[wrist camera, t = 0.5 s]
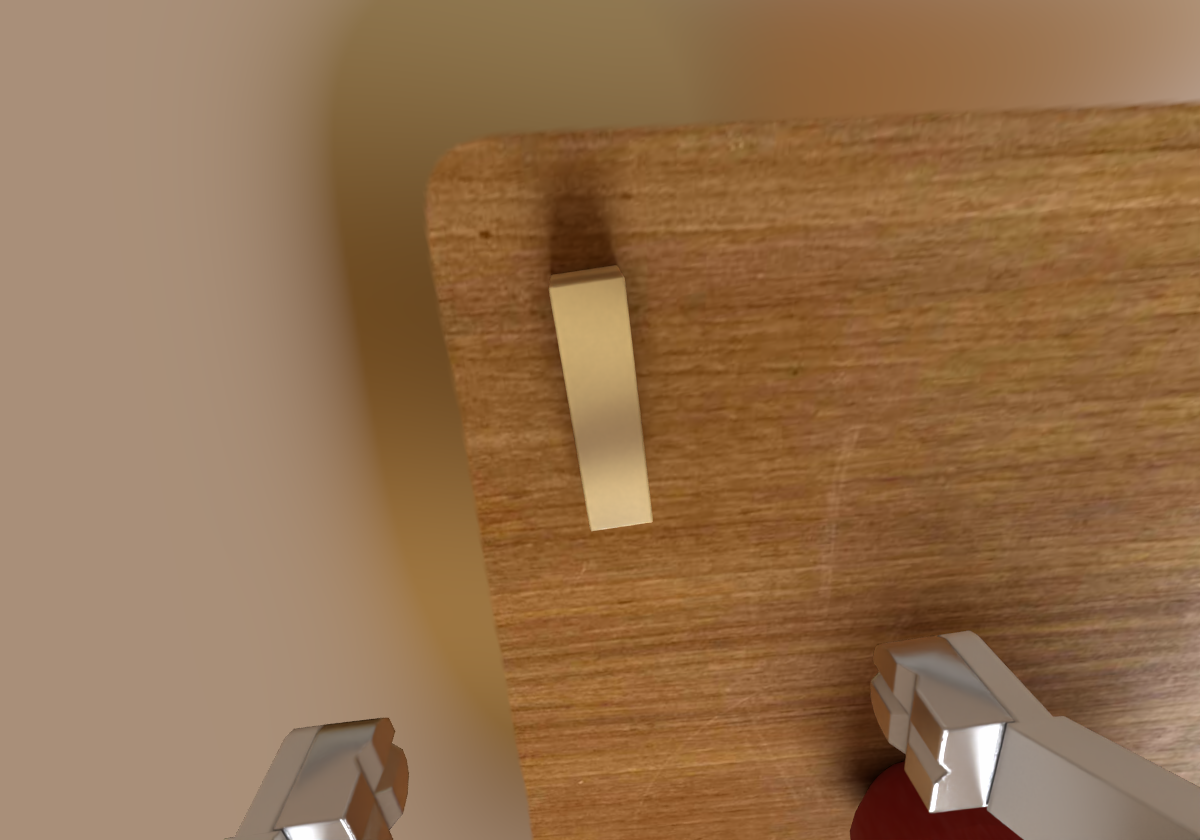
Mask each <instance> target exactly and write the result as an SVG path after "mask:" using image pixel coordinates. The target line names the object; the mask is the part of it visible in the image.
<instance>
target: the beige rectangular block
mask: <svg viewBox="0 0 1200 840" xmlns="http://www.w3.org/2000/svg"><path fill="white" fill-rule="evenodd" d="M549 294H550V300H551V305H552V311H553V317H554V323H555V329H556V334H557V340H558V346H559V352H560V358H561V363H562V369H563V375H564V381H565V387H566V393H567V398H568V404H569V410H570V416H571V422H572V427H573V433H574V439H575V445H576V451H577V456H578V462H579V468H580V474H581V480H582V485H583V491H584V497H585V503H586V509H587V514H588V520H589V526H590V530H591V531H596V530H602V529H609V528H616V527H622V526H629V525H636V524H643V523H649V522H652V521H653V517H652V508H651V500H650V491H649V483H648V474H647V465H646V457H645V448H644V440H643V431H642V422H641V414H640V405H639V396H638V388H637V379H636V371H635V362H634V353H633V345H632V336H631V328H630V319H629V310H628V302H627V293H626V285H625V277H624V276H623V274H622V272H621V271H620V269H619V268H618V266H616V265H615V266H608V267H601V268H595V269H588V270H581V271H574V272H568V273H561V274H554V275H551V277H550V284H549Z"/></svg>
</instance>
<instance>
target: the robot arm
mask: <svg viewBox="0 0 1200 840" xmlns="http://www.w3.org/2000/svg"><path fill="white" fill-rule="evenodd" d="M873 663H874V664H875V666H876V667H877V669H878V671H879V672H878V674H877V675H876V676H875V677H874V678H873V679H872V680H871V691H870V697H871V701H872V706H873V710H874V714H875V716H876V719H877V721H878V724H879V726H880V728H881V730H882V732H883V733H884V735H885V737H886V739H887V741H888V742H889V743H890V744H892V745H893V746H894V747H896V748H897V749H899V750H900V751H902V752H903V753H905V754H906V759H905V767H904V770H905V772H906V774H907V775H908V777H909V779H910V780H911V782H912V784H913V785H914V787H915V789H916V791H917V792H918V794H919V796H920V797H921V799H922V801H923V803H924V804H925V806H926V808H927V809H928V811H929V813H936V812H944V811H953V810H962V809H970V808H979V807H987V811H989V812H990V813H991V814H992V815H994V816H995V817H996V818H997V819H999V820H1000V821H1001V822H1002V823H1004V824H1005V825H1006V826H1007V827H1009V828H1010V829H1011V830H1012V831H1014V832H1015V833H1016V834H1017V835H1019V836H1020V837H1021V838H1022V839H1024V840H1200V787H1198V786H1197V785H1195V784H1193V783H1191V782H1189V781H1187V780H1185V779H1183V778H1181V777H1179V776H1177V775H1176V774H1174V773H1172V772H1170V771H1168V770H1166V769H1164V768H1162V767H1160V766H1158V765H1156V764H1155V763H1153V762H1151V761H1149V760H1147V759H1145V758H1143V757H1141V756H1139V755H1137V754H1135V753H1134V752H1132V751H1130V750H1128V749H1126V748H1124V747H1122V746H1120V745H1118V744H1116V743H1115V742H1113V741H1111V740H1109V739H1107V738H1105V737H1103V736H1101V735H1099V734H1097V733H1095V732H1094V731H1092V730H1090V729H1088V728H1086V727H1084V726H1082V725H1080V724H1078V723H1076V722H1074V721H1073V720H1071V719H1069V718H1067V717H1065V716H1055V717H1053V716H1052V715H1051V714H1050V713H1049V712H1048V711H1047V709H1046V708H1045V707H1044V706H1043V705H1042V704H1041V703H1040V702H1039V701H1038V700H1037V699H1036V698H1035V696H1034V695H1033V694H1032V693H1031V692H1030V691H1029V690H1028V689H1027V688H1026V687H1025V686H1024V685H1023V683H1022V682H1021V681H1020V680H1019V679H1018V678H1017V677H1016V676H1015V675H1014V674H1013V673H1012V672H1011V670H1010V669H1009V668H1008V667H1007V666H1006V665H1005V664H1004V663H1003V662H1002V661H1001V660H1000V659H999V658H998V656H997V655H996V654H995V653H994V652H993V651H992V650H991V649H990V648H989V647H988V646H987V645H986V643H985V642H984V641H983V640H982V639H981V638H980V637H979V636H978V635H977V634H975V633H973V632H971V631H963V632H956V633H950V634H943V635H938V636H935V635H933V636H926V637H920V638H914V639H908V640H901V641H895V642H889V643H883V644H878V645H877V646H876V648H875V649H874V654H873ZM394 733H395V730H394V728H393V725H392V723H391V721H390V719H389V718H377V719H369V720H360V721H352V722H343V723H335V724H327V725H320V726H312V727H305V728H297V729H294V730H293V731H291V732H290V733H289V734H288V735H287V736H286V737H285V739H284V740H283V743H282V744H281V746H280V749H279V750H278V752H277V755H276V756H275V758H274V760H273V763H272V764H271V766H270V768H269V770H268V772H267V774H266V776H265V778H264V780H263V782H262V784H261V786H260V788H259V790H258V792H257V794H256V796H255V798H254V800H253V802H252V804H251V806H250V808H249V810H248V812H247V813H246V815H245V817H244V819H243V822H242V823H241V825H240V828H239V829H238V831H237V833H236V835H235V837H230V838H225V839H224V840H393V838H392V835H391V833H390V831H389V830H390V829H391V828H392V826H393V825H394V824H395V823H396V821H397V820H398V819H399V818H400V817H401V815H402V814H403V811H404V807H405V803H406V799H407V794H408V779H409V772H408V765H407V759H406V757H405V754H404V752H403V749H401V748H399V747H398V746H396V745H394V744H393V743H392V740H393V737H394Z"/></svg>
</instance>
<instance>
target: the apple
mask: <svg viewBox="0 0 1200 840" xmlns="http://www.w3.org/2000/svg"><path fill="white" fill-rule="evenodd" d="M904 767H905V761H904V762H901V763H897V764H894V765H892V766H891V767H889V768H888V769H886V770H885V771H884V772H882V773H881V774H880V775H879V776H878V777H877V778H876V779H875V780H874V782H873V783H872V784H871V785H870V787H869V789H868V791H867V792H866V794H865V796H864V798H863V800H862V801H861V803H860V805H859V807H858V808H857V810H856V812H855V816H854V819H853V822H852V826H851V829H850V838H851V840H1024V839H1022V838H1021V837H1020V836H1019V835H1017V834H1016V833H1015V832H1014V831H1012V830H1011V829H1010V828H1009V827H1007V826H1006V825H1005V824H1004V823H1002V822H1001V821H1000V820H999V819H997V818H996V817H995V816H994V815H992V814H991V813H990V812H989V811H987V807H979V808H970V809H962V810H953V811H944V812H936V813H929V811H928V809H927V808H926V806H925V804H924V803H923V801H922V799H921V797H920V796H919V794H918V792H917V791H916V789H915V787H914V785H913V784H912V782H911V780H910V779H909V777H908V775H907V774H906V772H905V770H904Z"/></svg>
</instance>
